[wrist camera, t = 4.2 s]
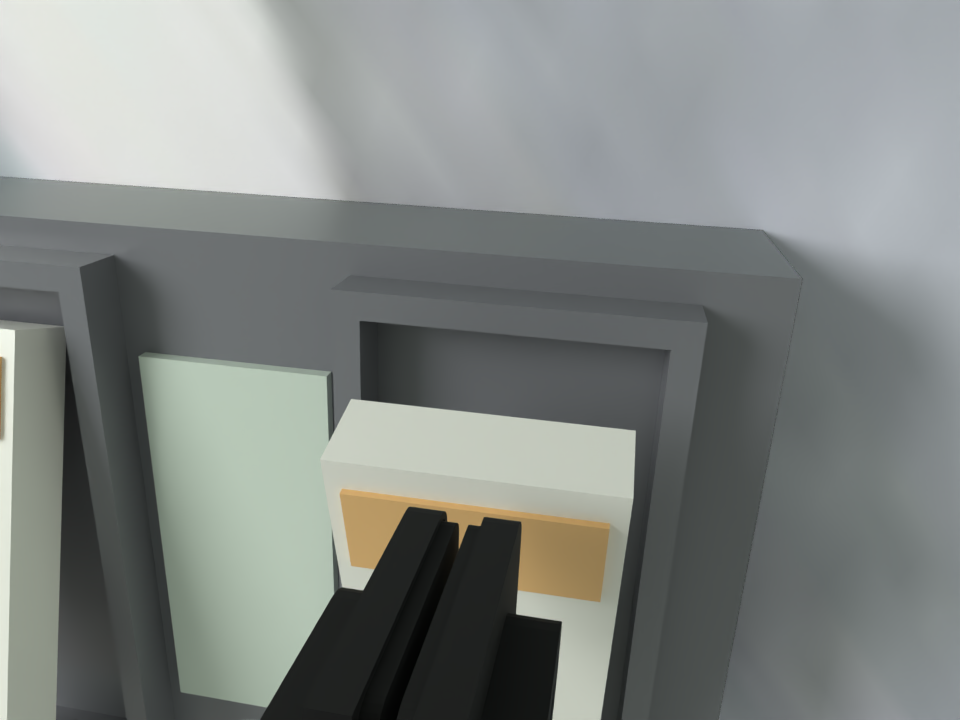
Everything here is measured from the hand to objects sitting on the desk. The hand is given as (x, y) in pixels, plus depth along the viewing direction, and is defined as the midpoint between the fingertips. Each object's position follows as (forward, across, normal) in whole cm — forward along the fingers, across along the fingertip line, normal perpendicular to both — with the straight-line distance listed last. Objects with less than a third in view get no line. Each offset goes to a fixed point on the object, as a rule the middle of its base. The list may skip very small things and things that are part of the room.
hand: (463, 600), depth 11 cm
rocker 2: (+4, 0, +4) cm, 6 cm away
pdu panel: (+11, +8, +4) cm, 15 cm away
